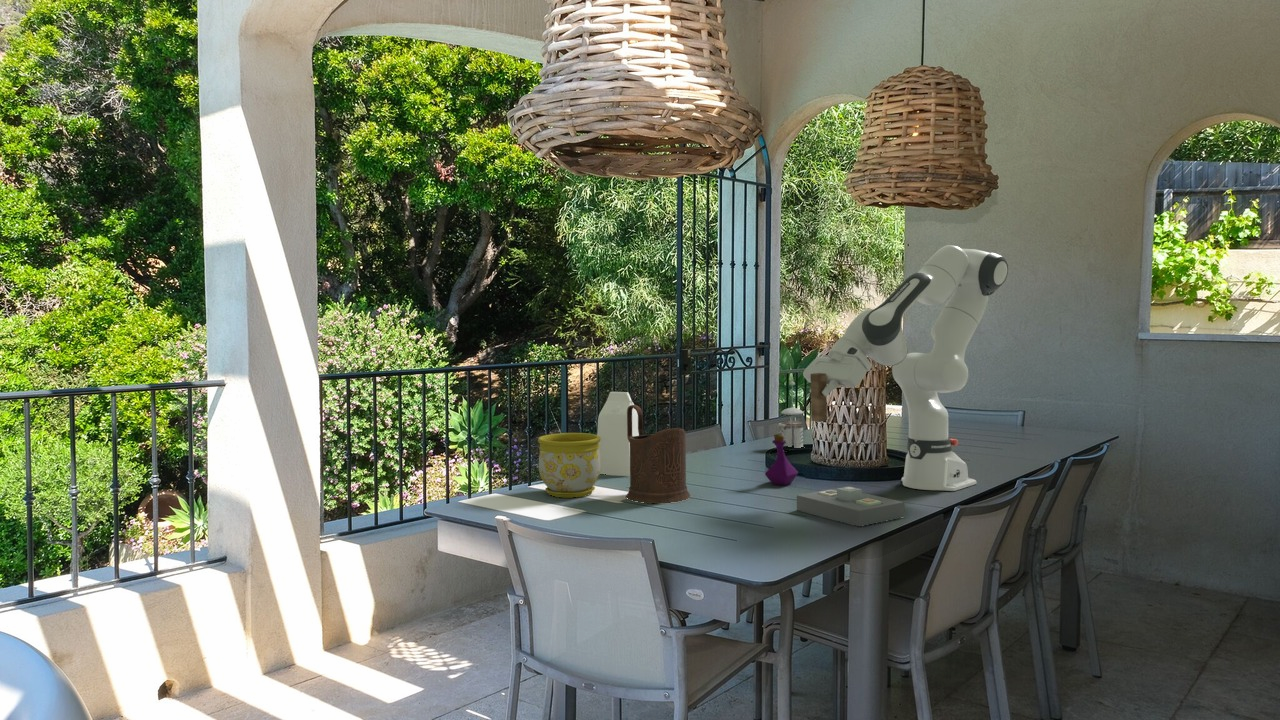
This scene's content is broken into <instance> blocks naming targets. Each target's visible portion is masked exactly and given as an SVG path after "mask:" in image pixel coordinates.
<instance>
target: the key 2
mask: <svg viewBox="0 0 1280 720" xmlns="http://www.w3.org/2000/svg"><path fill="white" fill-rule="evenodd" d="M856 503H857V504H861V505H865V506H874V505H879V504H881V501H878V500H873V499H869V498H867V499H861V500H856Z"/></svg>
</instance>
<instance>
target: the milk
mask: <svg viewBox="0 0 1280 720" xmlns="http://www.w3.org/2000/svg"><path fill="white" fill-rule="evenodd" d="M630 405H635V404H634V402H633V400H632V398H631V395H630V393H629V391H627V392H626V391H625V392H624V391H610V392H609V394H608V396H607V400H606V401H605V403H604V405H603V407H602V409H601V410H600V412H599V414H598V418H597V433H596V435H598V436H600V438H601V440H600V442H599V446H600V447H599V453H600V462H601V466H600V473H599V475H600V474H606V475H605V476H613V477H614V476H617V477H629V476H630V443H629V440H628V437H627V408H628V407H629V406H630ZM632 436H639V432H638V414H637V411H636V410H635V409H634V408H633V409H632Z"/></svg>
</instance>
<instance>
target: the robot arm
mask: <svg viewBox="0 0 1280 720" xmlns="http://www.w3.org/2000/svg"><path fill="white" fill-rule="evenodd" d="M1008 274H1009V265H1008V261H1007V260H1006V258H1005V257H1004V256H1002V255H1001V254H998V253H995V252H988V251H984V250H980V249H976V248H971V249H970V248H961V247H959V246H957V245H954V244H953V245H952V244H947V245H944V246H942V247H940V248H939V249H938V250H937V251H935V253H933V255H931V256H930V257H929V258H928V260H927V261H926V262H924V264H923V265H922V266H921V268H920V269H919V270H918V272H915V273H912V274H911V275H909V276H908V277H907V278H906V279H904V281H902V283H900V285H899V286H897V288H896V289H895V290H894V291H893V292H891V294H890V295H889V296H888V297H887V298H886V299H885V300H884V301H883V302H882V303H881V304H879V305H878V306H877V307H875V308H868V309H864V310H863V311H861V312H860V313H859V314H858V315H857V316H856V317H854V319H853V320H852V321H851V322H850V324H849V325H848V326H847V328H846V329H845V332H844V334H843V335H842V336H840V337H839V339H838V340H836V342H835V343H834V345H833V346H832V348H831V349H830V350H829V351H828V355H827V354H823V355H821V356H818V357H816V358H815V359H813V360H812V361H811V362H810V363H809V365H808V366H807V367H806V368H805V369H804V371H803V373H802V376H803V377H804V380H806V381H807V382H808V383H810V384H811V374H813V373H825V374H826V387H825V388H822V390H821V391H820V394H822V396H827V397H828V395H829V394H830V393H831V392H833V391H834V390H836V389H837V388H838V387H844V388H856V387H857V386H858V385H859V384H860V383H861V382H862V381H863V379H864V378H865V376H866V374H867V372H868V371H870V370H871V368H872V366H873V365H872V363H871V361H869V359H870V360H872V361H873V362H875V363H876V364H879V365H880V366H884V367H891V375H892V377H893V379H894V381H895V382H896V383H897V384H898V386H899V387H900V389H901V392H902V394H903V397H904V399H905V403H906V407H907V412H908V437H907V440H906V449H907V453H906V455H905V461H904V471H903V472H904V473H903V476H902V477H901V482H902V485H903V486H904V487H907V488H910V489H917V490H923V491H924V490H925V491H946V492H948V491H949V492H955V491H959V490H961V489H964V488H967V487H971V486H974V485H977V484H978V483H977V480H976V479H974V478H971V477H969V474H968V473H969V471H968V465H967V463H966V462H965V461H964V460H963V459H961V458H960V456H958V455H957V454H956V452H954V451H953V447H957V446H958V445H959V440H958V439H957V438H949V412H948V410H947V408H946V407H945V406H944V405H943V404H942V402H941V400H940V398H939V396H938V395H939V393H942V394H947V393H953V392H958V391H960V390H962V389H963V388H965V386H966V385H967V382H968V380H969V369H968V366H967V364H966V362H965V355H966V350H967V348H968V345H969V343H970V342H971V339H972V337H973V335H974V334H975V331H976V329H977V328H978V326H979V324H980V322H981V320H982V318H983V317H984V314H985V311H986V308H987V305H988V301H989V296H991V295H993V294H994V293H995V292H996V291H997V290H999V289H1000V287H1001V286H1002V285H1003V284H1004V283H1005V282H1006V280H1007V278H1008ZM946 301H947V302H946ZM916 302H918V303H920V304H922V305H925V306H929V307H936V306H941V305H942V304H943V303H945V302H946V303H945V305H944V306H943V308H942V310H941V311H940V313H939V315H938V317H937V318H936V320H935V322H934V323H933V325H932V327H931V329H930V336H931V338H932V340H933V347H932V349H931V351H929V352H928V353H926V352H925V353H924V352H910V353H908V352H909V350H908V345H907V340H906V337H905V334H904V331H903V326H902V325H903V324H902V322H903V317H904V315H905V314H906V313H907V312H908V311H909V310H910V308H911V307H912V306H914V304H915V303H916ZM868 358H869V359H868ZM809 392H810V394H811V388H810V389H809ZM952 446H953V447H952Z"/></svg>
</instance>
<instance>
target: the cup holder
mask: <svg viewBox="0 0 1280 720" xmlns="http://www.w3.org/2000/svg"><path fill="white" fill-rule="evenodd" d="M633 408H634V409H635V410H636V411H637V414H638V432H639V436H632V409H633ZM686 435H687V434H686V430H685V429H684V428H681V427H675V428H668V429H663V430H659V431H658V432H656V433H651V434H645V432H644V414H643V410H642V408H641V407H640V406H638V405H637V404H634V405H630V406H629V407H628V408H627V437H628V440H629V443H630V477H629V484H630V485H629V487H628V489H629V490H628V492H627V494H626V495H625V498H626V497H627V498H628V499H630V500H633V501H638V502H644V503H671V502H678V501H682V500H686V499H688V498H690V496H691V494H690V492H689V491H688V486H687V471H686V470H687V465H686V464H687V461H686V459H687V457H686V456H687V455H686V454H687V453H686V448H687V447H686ZM690 499H691V498H690ZM686 501H687V500H686ZM678 503H679V502H678ZM671 504H672V503H671Z"/></svg>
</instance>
